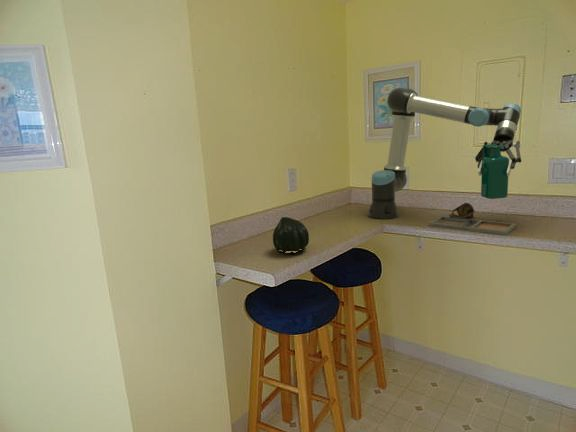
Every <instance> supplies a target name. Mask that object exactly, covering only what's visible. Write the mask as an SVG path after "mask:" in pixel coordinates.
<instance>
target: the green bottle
mask: <svg viewBox="0 0 576 432" xmlns="http://www.w3.org/2000/svg"><path fill="white" fill-rule="evenodd" d="M482 147H483V155H484V158H483V160H482V174H481V180H480V181H481V183H480V196H481V197H482V198H486V199H489V200H496V199H505V198H508V194H509V193H508V192H509V176H507V173H506V172H507V168H508V165H509V161H510V158H509V157H507V156H503V155H502V154H501V153H502V152H501V148H502V147H503V146H502V145H496V144H490V145H484V144H483V145H482Z"/></svg>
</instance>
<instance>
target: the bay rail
mask: <svg viewBox="0 0 576 432" xmlns="http://www.w3.org/2000/svg"><path fill="white" fill-rule="evenodd" d="M443 220H444V221H452V222H453V221H454V222H461V224H460V225H459V224H458V225H456V224H447V223H439V222H441V221H443ZM470 224H473V225H471V226H468V225H470ZM435 226H436V228H444V229H454V230H460V231H470V232H478V233H479V232H480V233H487V234H493V235H494V234H495V235H502V236H503V235H504V236H507V235H508V234H510V232H512V230H514V229H515V228H516V223H513V222H512V223H511V222H503V221H495V220H484V219H483V220H482V219H474V218H455V217H449V216H444V215H443V216H439V217H437V218H435V219H434V220H432V221H430V222H428V227H435Z"/></svg>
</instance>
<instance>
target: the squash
mask: <svg viewBox="0 0 576 432" xmlns="http://www.w3.org/2000/svg"><path fill="white" fill-rule="evenodd" d="M309 241H310V235H309V231H308V229H307V227H306V226H305V225H304V223H302V221H299V220H297V219H293V218H292V217H287V216H282V217H281V218H280V220H278V223H277V225H276V226H275V228H274V230H273V233H272V244H273V247H274V248H275V250H277V251H278V250H282V251H283V252H286V251H298V250H299V249H304V250H305V248H306V247H307V246H308V244H309ZM298 252H299V251H298Z"/></svg>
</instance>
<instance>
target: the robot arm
mask: <svg viewBox="0 0 576 432" xmlns="http://www.w3.org/2000/svg"><path fill="white" fill-rule="evenodd" d="M387 105H388V108H389V109H390V110H391V116H392V117H393V124H392V131H391V132H392V133H391V137H390V144H389V145H390V146H389V153H388V158H387V164H385V165H384V167H383V169H382V170H377V171H375V172H373V173H372V175H371V204H370V207H369V210H368V217H369V216H370V218H371V217H374V218H373V219H376V218H380V220H389V219H395V218H397V217H399V210H398V207H397V204H396V193H397V192H399V191H401V190H403V189H404V188H405V186H406V185H407V182H408V177H407V174H406V172H407V168H406V166H405V159H406V155H407V154H406V153H407V148H408V147H407V146H408V142H409V141H408V140H409V135H410V134H409V133H410V129H411V123H412V119H414V118H415V117H416V114H420V115H426V116H430V117H435V118H440V119H445V120H449V121H454V122H458V123H462V124H467V125H471V126H474V127H479V128H480V127H483V126H497V128H496V131H495V133H494V136H493V139H492V141H491V142H488V141H485V142H483V145H490V144H496V145H502V146H503V147H502V148H501V153H502V152H503V153H505V152H506V154H507V155H508V158H509V165H508V168H507V172H506V173H507V176H508V177H510V176H511V172H512V170H514V169H515V167H516V164H517V163H522V158H521V157H522V156H521V152H520V147H521V142H520V140H516V141H515V142H514V139H515V134H516V131H517V127H518V123H519V120H520V117H521V112H522V110H521V106H520V105H518V104H516V103H513V102H512V103H511V102H510V103H507V104H505V105H504V106H503V107H502V108H482V107H476V106H472V105H466V104H462V103H456V102H451V101H446V100H441V99H435V98H431V97H426V96H422V95H421V96H420V95H419V94H418V92H417V91H415V90H414V89H412V88H405V87H404V88H403V87H397V88H394V89H393V90H392V91H390V93H388V96H387ZM511 147H513V148H514V149H515V153H516V156H515V155H514V153H513V152H512V150H511ZM483 158H484V155H483V146H482V147H481V148H480V150H479V151H478V153H477V155H476V156H475V157H474V159H475V162H476V163H477V168H478V170H477V174H478V176H481V177H482V160H483Z"/></svg>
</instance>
